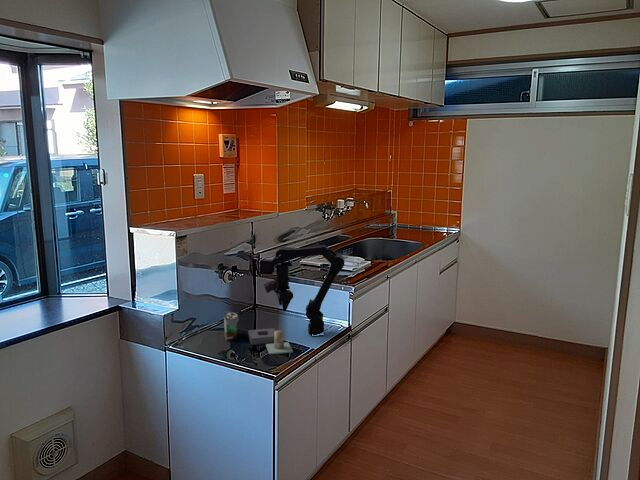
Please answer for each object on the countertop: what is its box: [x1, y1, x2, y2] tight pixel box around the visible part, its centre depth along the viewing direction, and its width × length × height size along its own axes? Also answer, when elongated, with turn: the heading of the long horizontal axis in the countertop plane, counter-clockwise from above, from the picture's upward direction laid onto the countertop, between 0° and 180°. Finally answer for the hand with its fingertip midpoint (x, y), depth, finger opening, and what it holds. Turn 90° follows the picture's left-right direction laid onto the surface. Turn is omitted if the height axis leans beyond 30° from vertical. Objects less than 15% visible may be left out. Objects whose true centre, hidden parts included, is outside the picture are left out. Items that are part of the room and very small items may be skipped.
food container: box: [223, 311, 240, 341], centre depth 224 cm, size 12×6×10 cm, turn 17°
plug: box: [274, 329, 285, 349], centre depth 211 cm, size 4×4×7 cm
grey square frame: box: [247, 327, 277, 346], centre depth 222 cm, size 12×10×3 cm
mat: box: [265, 341, 294, 355], centre depth 212 cm, size 10×10×1 cm
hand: (282, 308), depth 228 cm, fingers open, 9 cm apart
